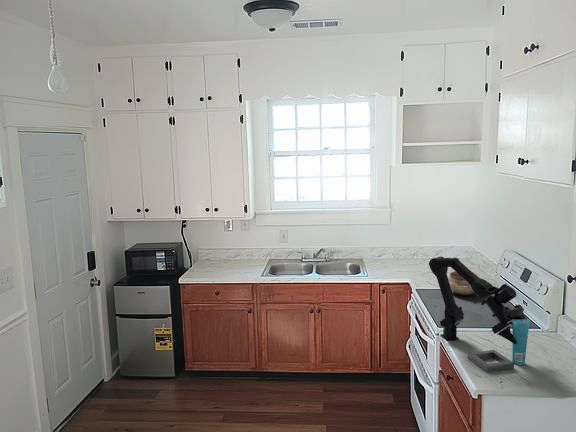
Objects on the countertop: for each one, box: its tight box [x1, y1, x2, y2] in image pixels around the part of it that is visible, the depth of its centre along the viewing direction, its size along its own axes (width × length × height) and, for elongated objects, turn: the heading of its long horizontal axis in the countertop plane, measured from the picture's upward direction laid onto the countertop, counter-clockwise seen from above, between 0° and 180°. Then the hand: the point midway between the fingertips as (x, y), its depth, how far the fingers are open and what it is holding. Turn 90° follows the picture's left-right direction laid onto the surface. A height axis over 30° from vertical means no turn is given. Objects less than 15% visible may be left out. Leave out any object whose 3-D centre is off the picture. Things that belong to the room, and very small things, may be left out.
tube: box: [511, 318, 531, 366], centre depth 204 cm, size 7×5×19 cm, turn 96°
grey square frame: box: [467, 349, 515, 373], centre depth 204 cm, size 13×13×2 cm
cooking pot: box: [448, 270, 480, 297], centre depth 293 cm, size 25×19×12 cm
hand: (521, 340), depth 203 cm, fingers open, 9 cm apart
